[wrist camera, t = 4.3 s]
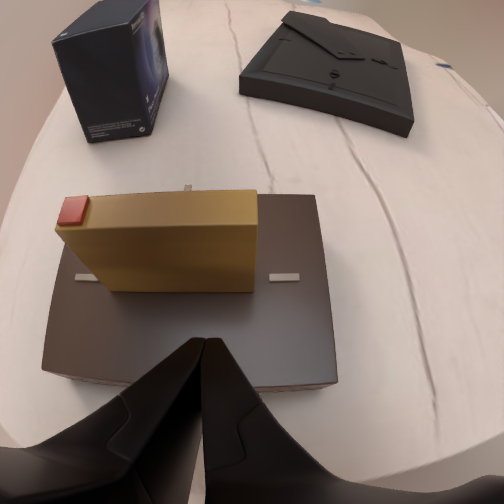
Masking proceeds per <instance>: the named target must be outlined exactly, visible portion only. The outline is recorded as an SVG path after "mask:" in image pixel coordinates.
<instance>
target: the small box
mask: <svg viewBox="0 0 504 504" xmlns="http://www.w3.org/2000/svg"><path fill="white" fill-rule="evenodd" d="M51 43H52V46H53V48H54V52H55V55H56V58H57V61H58V64H59V67H60V70H61V73H62V76H63V78H64V81H65V85H66V87H67V90H68V92H69V95H70V97H71V100H72V103H73V106H74V108H75V111H76V113H77V116H78V118H79V122H80V124H81V127H82V130H83V132H84V135H85V138H86V140H87V142H88V143H90V142H96V141H102V140H108V139H116V138H124V137H133V136H141V135H148V134H151V132H152V129H153V125H154V121H155V118H156V114H157V111H158V108H159V104H160V101H161V98H162V94H163V92H164V88H165V85H166V82H167V79H168V76H169V74H168V66H167V60H166V54H165V46H164V39H163V32H162V24H161V16H160V8H159V0H103V1H99V2H97V3H96V4H95V5H93V6H92V7H91V8H90V9H89V10H87V11H86V12H85V13H83V14H82V15H81V16H80V17H79V18H78V19H76V20H75V21H74V22H73V23H72V24H71V25H69V26H68V27H67V28H66V29H65V30H64V31H62V32H61V33H60V34H59V35H58V36H57V37H56V38H55V39H54V40H53V41H52V42H51Z"/></svg>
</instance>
